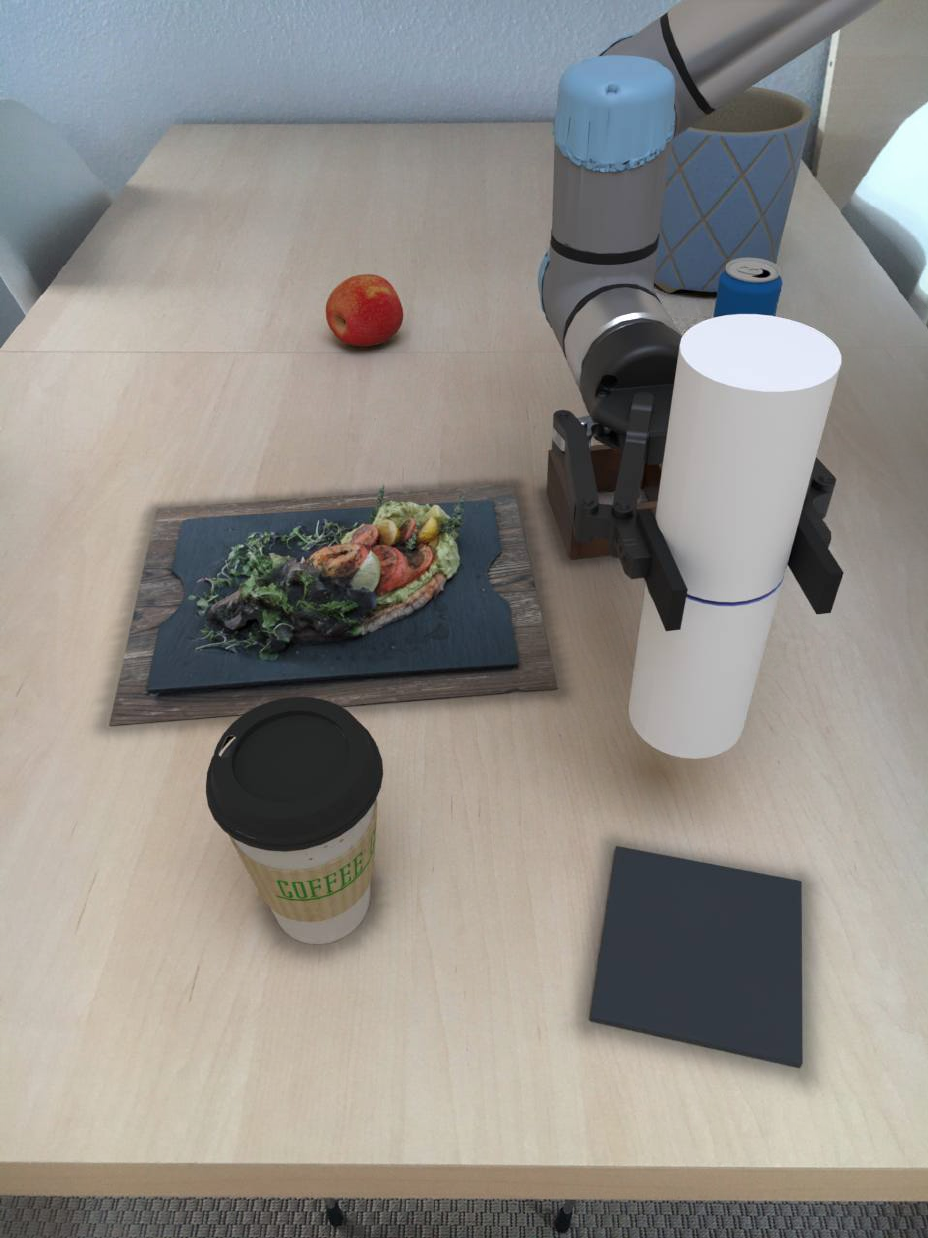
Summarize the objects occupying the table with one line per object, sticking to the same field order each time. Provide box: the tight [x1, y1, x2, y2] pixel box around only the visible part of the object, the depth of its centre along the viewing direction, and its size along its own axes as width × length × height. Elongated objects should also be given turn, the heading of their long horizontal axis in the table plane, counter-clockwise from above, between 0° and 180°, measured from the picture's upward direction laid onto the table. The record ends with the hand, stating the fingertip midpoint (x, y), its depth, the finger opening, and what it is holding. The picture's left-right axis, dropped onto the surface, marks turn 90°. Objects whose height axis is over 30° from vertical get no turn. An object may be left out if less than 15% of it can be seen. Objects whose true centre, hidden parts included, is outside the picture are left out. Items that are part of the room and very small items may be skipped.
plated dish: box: [108, 483, 558, 726], centre depth 84 cm, size 35×28×7 cm
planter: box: [654, 86, 812, 294], centre depth 124 cm, size 19×19×20 cm
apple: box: [325, 273, 404, 347], centre depth 116 cm, size 8×8×8 cm
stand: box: [545, 443, 663, 560], centre depth 91 cm, size 21×10×5 cm, turn 98°
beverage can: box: [712, 258, 783, 318], centre depth 108 cm, size 6×6×12 cm
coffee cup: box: [205, 697, 384, 945], centre depth 59 cm, size 10×10×15 cm
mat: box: [589, 845, 804, 1069], centre depth 61 cm, size 12×12×1 cm
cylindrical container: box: [628, 314, 842, 760], centre depth 53 cm, size 7×7×25 cm
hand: (753, 601), depth 49 cm, fingers closed on cylindrical container, 7 cm apart
